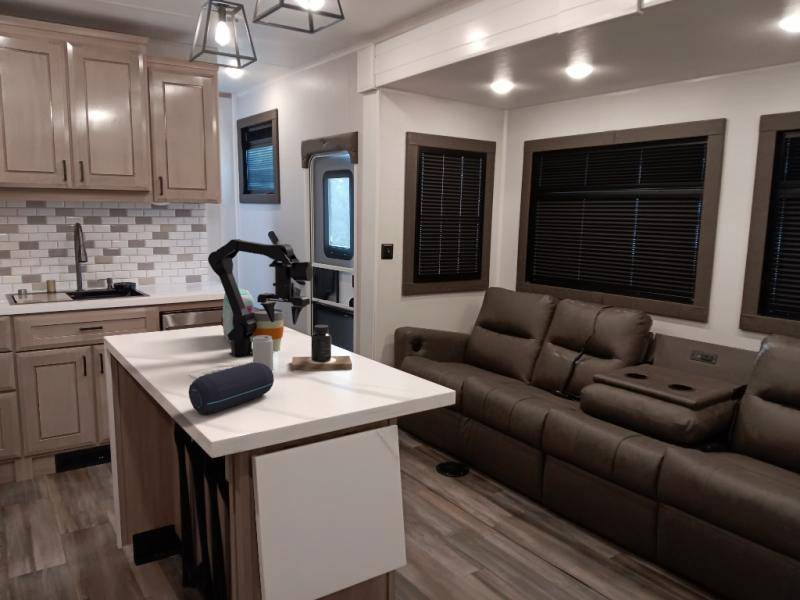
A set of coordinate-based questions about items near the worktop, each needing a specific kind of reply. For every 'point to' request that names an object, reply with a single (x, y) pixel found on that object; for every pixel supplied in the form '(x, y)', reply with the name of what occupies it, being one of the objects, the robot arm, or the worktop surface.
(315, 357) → the supplement bottle
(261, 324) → the reusable coffee cup
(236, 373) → the portable speaker
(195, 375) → the photo frame
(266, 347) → the beverage can
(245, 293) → the lunch box
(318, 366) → the walnut plinth
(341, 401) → the worktop surface
